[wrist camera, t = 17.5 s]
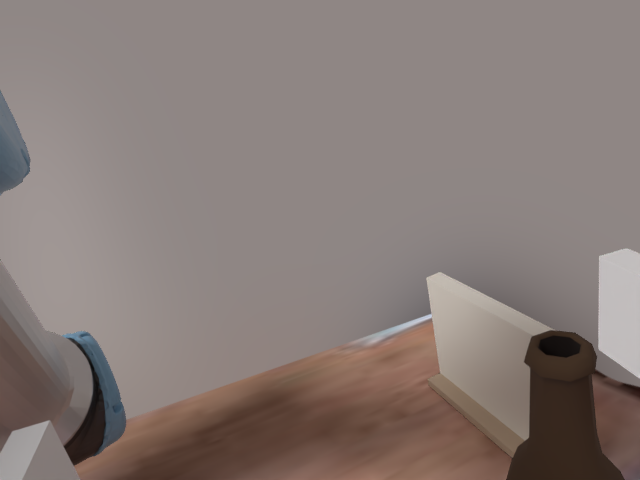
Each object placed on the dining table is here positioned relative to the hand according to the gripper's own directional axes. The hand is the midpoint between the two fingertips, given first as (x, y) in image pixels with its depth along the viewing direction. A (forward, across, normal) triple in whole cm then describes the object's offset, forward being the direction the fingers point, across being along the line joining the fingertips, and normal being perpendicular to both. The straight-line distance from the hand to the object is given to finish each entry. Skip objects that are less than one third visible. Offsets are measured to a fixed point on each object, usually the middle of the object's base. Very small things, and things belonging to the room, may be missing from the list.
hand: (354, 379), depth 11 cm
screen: (+31, +20, -35) cm, 51 cm away
